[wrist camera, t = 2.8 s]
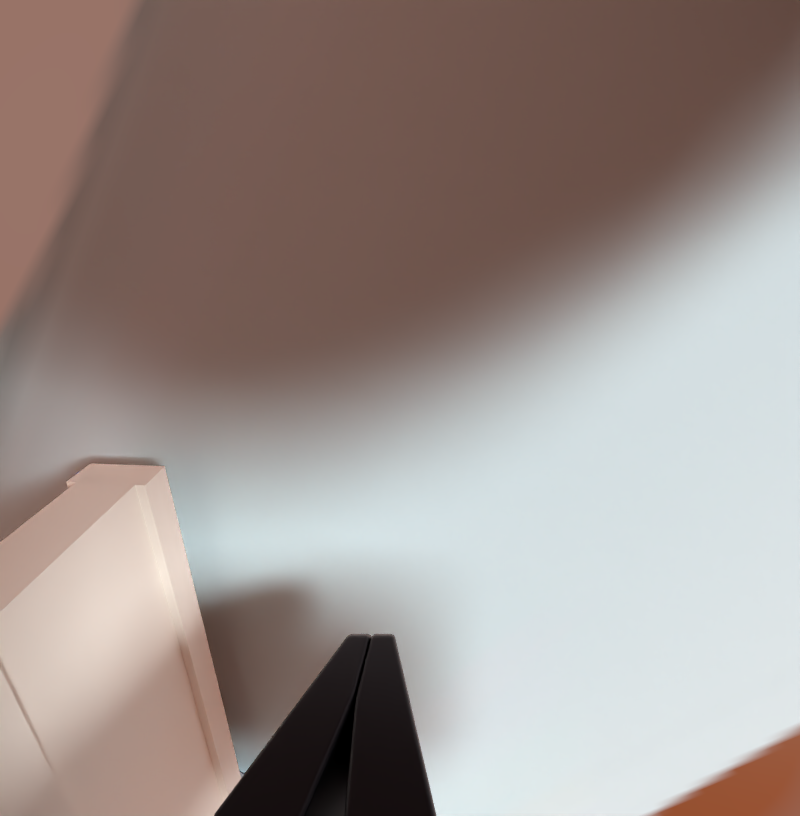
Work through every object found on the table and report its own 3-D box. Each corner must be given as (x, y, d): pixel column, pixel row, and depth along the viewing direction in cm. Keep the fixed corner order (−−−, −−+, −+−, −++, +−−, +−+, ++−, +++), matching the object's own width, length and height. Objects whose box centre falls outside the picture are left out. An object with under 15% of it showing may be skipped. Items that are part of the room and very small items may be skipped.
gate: (169, 461, 10) (-76, 699, 6) (259, 835, 16) (175, 1114, 11) (96, 458, 10) (-204, 687, 6) (211, 830, 16) (107, 1102, 11)
